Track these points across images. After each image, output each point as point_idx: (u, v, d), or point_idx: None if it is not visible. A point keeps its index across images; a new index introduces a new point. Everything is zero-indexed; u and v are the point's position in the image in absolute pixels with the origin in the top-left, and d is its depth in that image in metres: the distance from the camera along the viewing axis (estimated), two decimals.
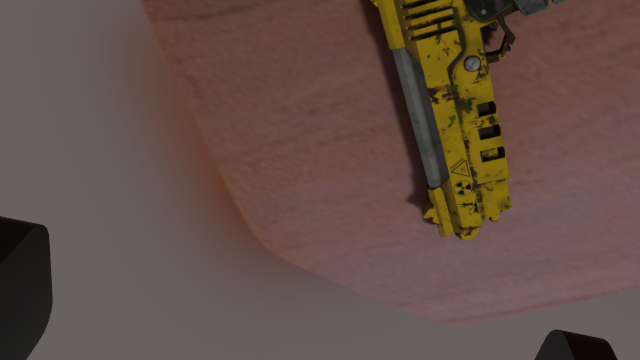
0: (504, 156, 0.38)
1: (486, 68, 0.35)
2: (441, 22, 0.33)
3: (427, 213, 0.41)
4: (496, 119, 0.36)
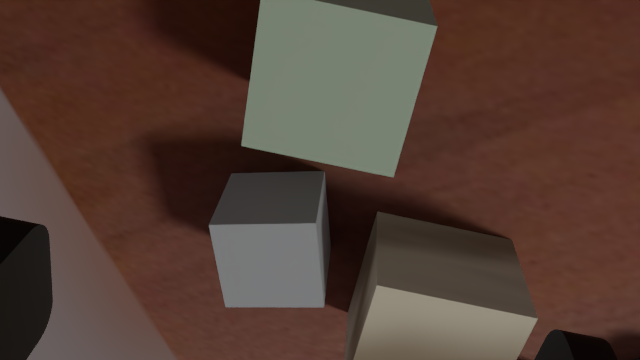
0: None
1: None
2: None
3: None
4: None
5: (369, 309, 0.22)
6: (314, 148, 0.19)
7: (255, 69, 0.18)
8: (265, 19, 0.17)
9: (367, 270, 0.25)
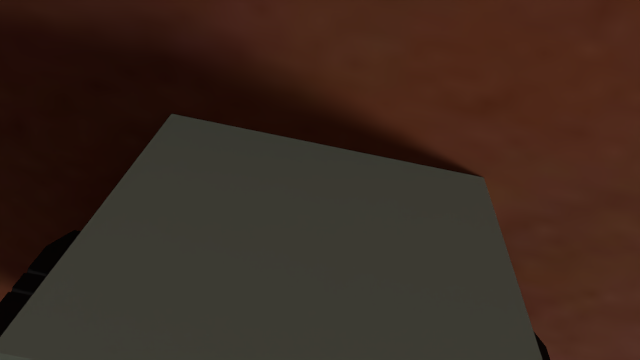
0: None
1: None
2: None
3: None
4: None
5: None
6: None
7: None
8: None
9: None
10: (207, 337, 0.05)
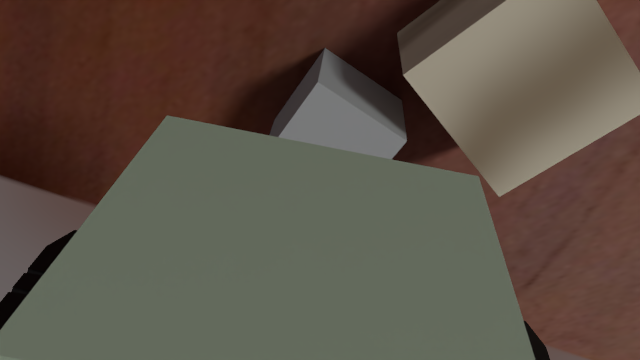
0: None
1: None
2: None
3: None
4: None
5: (424, 101, 0.20)
6: None
7: None
8: None
9: None
10: (201, 337, 0.05)
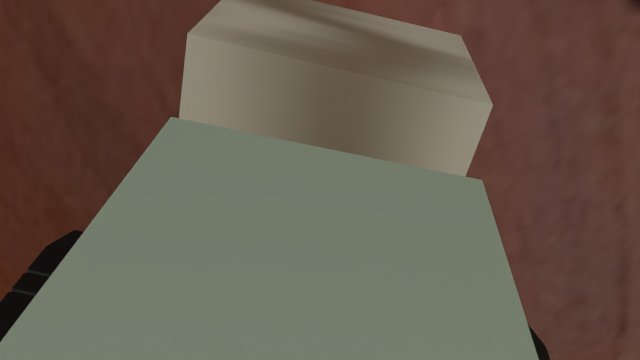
0: None
1: None
2: None
3: None
4: None
5: None
6: None
7: None
8: None
9: None
10: (206, 340, 0.05)
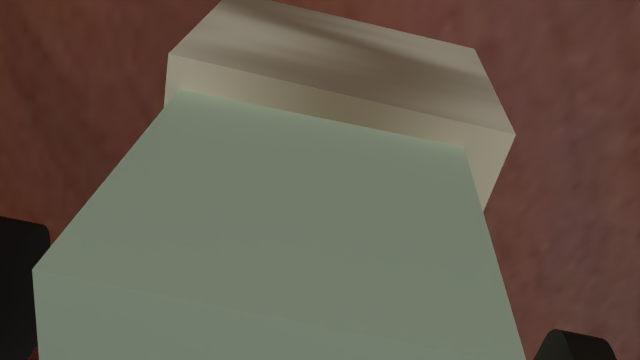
0: None
1: None
2: None
3: None
4: None
5: None
6: None
7: None
8: (56, 333, 0.06)
9: None
10: (215, 264, 0.06)
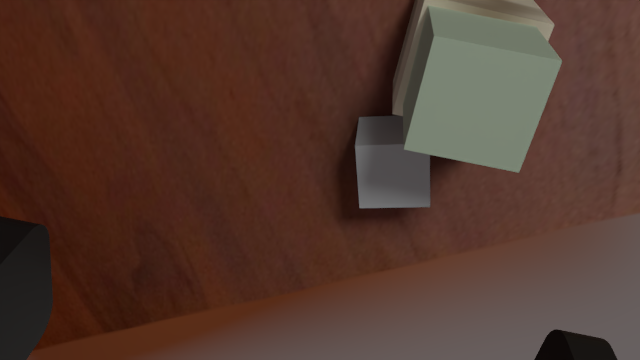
0: None
1: None
2: None
3: None
4: None
5: None
6: (460, 150, 0.25)
7: (422, 92, 0.24)
8: (434, 56, 0.23)
9: None
10: (475, 39, 0.23)
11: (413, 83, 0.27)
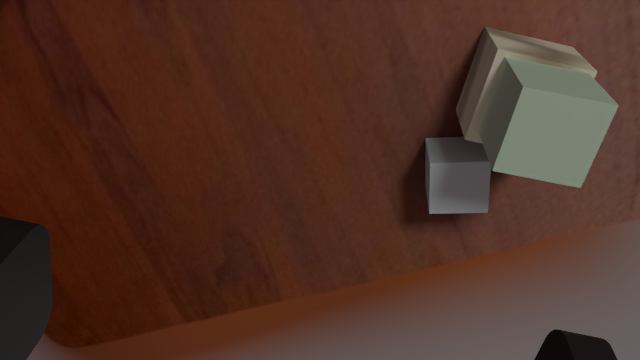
0: None
1: None
2: None
3: None
4: None
5: None
6: (536, 171, 0.32)
7: (510, 128, 0.31)
8: (522, 102, 0.31)
9: None
10: (552, 88, 0.31)
11: (495, 118, 0.34)
